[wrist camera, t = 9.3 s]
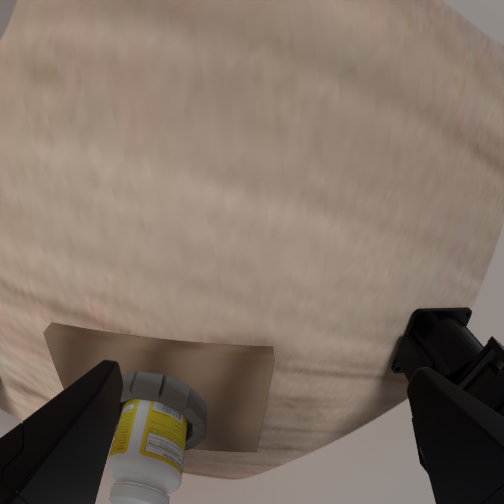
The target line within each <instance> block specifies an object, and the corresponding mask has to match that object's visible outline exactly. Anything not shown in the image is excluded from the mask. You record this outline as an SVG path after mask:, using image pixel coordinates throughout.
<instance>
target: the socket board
mask: <svg viewBox="0 0 504 504" xmlns="http://www.w3.org/2000/svg"><path fill="white" fill-rule="evenodd" d="M44 336H45V339H46V342H47V345H48V348H49V351H50V354H51V357H52V360H53V362H54V365H55V368H56V370H57V373H58V376H59V378H60V381H61V383H62V386H63V388H64V390H65V389H66V388H67V387H68V386H70V385H71V384H72V383H74V382H75V381H76V380H78V379H79V378H80V377H82V376H83V375H84V374H85V373H87V372H88V371H89V370H91V369H92V368H93V367H95V366H96V365H97V364H99V363H100V362H101V361H103V360H105V359H107V360H113V361H117V362H118V363H119V366H120V370H121V375H122V379H123V391H122V396H121V401H120V406H119V411H118V417H117V423H116V428H115V433H114V436H113V437H115V434H116V431H117V427H118V424H119V420H120V417H121V413H122V409H123V407H124V403H125V401H128V400H132V399H141V400H147V401H154V402H159V403H162V404H164V405H166V406H168V407H170V408H173V409H175V410H177V411H179V412H180V413H181V414H182V415H183V416H184V417H185V418H186V419H187V420H188V422H187V432H186V441H185V450H188V449H199V450H212V451H230V452H257V447H258V442H259V438H260V433H261V428H262V423H263V418H264V413H265V408H266V403H267V398H268V393H269V388H270V383H271V377H272V372H273V367H274V361H275V359H274V351H273V347H264V346H242V345H225V344H210V343H198V342H186V341H176V340H166V339H157V338H148V337H140V336H132V335H125V334H117V333H110V332H104V331H97V330H91V329H85V328H79V327H73V326H68V325H62V324H57V323H52V322H51V324H50V325H49V326H48V327H47V329H46V330H45V331H44Z"/></svg>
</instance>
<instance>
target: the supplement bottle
mask: <svg viewBox="0 0 504 504" xmlns="http://www.w3.org/2000/svg"><path fill="white" fill-rule="evenodd" d="M187 422H188V420H187V419H186V418H185V417H184V416H183V415H182V414H181V413H180V412H179V411H177V410H175V409H173V408H170V407H168V406H166V405H164V404H162V403H159V402H154V401H147V400H141V399H132V400H128V401H125V403H124V407H123V409H122V413H121V417H120V420H119V424H118V427H117V431H116V434H115V437H114V441H113V444H112V448H111V452H110V455H109V459H108V465H107V466H108V471H109V473H110V474H111V476H112V477H113V478H114V479H115V480H116V481H117V482H115V483H113V486H112V488H111V494H110V502H111V503H112V504H169V496H168V495H167V494H168V493H171V492H173V491H175V490H176V489H178V487H179V486H180V484H181V478H182V469H183V459H184V450H185V441H186V432H187Z"/></svg>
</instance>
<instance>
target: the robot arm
mask: <svg viewBox="0 0 504 504" xmlns="http://www.w3.org/2000/svg"><path fill="white" fill-rule="evenodd" d="M471 314H472V311H471V310H470V309H469V308H468V307H467V308H427V309H417V310H416V311H415V312H414V314H413V316H412V319H411V322H410V324H409V327H408V329H407V332H406V334H405V337H404V339H403V342H402V344H401V346H400V349H399V351H398V353H397V356H396V358H395V360H394V362H393V365H392V367H391V369H392V371H393V372H394V373H403V372H404V374H405V376H406V377H407V379H408V381H409V385H408V388H407V394H408V398H409V402H410V407H411V412H412V416H413V418H412V423H413V429H414V433H415V438H416V443H417V449H418V455H419V460H420V464H421V465H422V466H423V468H424V469H425V470H426V471H427V473H428V475H429V478H430V482H431V486H432V489H433V494H434V497H435V502H436V504H504V346H503V345H501V344H500V343H499V342H498V341H497V340H496V339H495V338H494V337H491V338H490V339H489V341H488V343H487V345H486V346H485V347H483V346H482V344H481V343H480V342H479V341H478V340H477V338H476V337H475V336H474V335H473V334H472V333H471V332H470V330H469V329H468V328H467V327H466V326H467V324H468V321H469V319H470V317H471ZM419 315H420V316H419ZM122 391H123V379H122V375H121V370H120V366H119V363H118V362H117V361H113V360H107V359H105V360H103V361H101V362H100V363H99V364H97V365H96V366H95V367H93V368H92V369H91V370H89V371H88V372H87V373H85V374H84V375H83V376H82V377H80V378H79V379H78V380H76V381H75V382H74V383H72V384H71V385H70V386H68V387H67V388H66V389H65V390H63V391H62V392H61V393H59V394H58V395H57V396H55V397H54V398H53V399H51V400H50V401H49V402H48V403H46V404H45V405H44V406H42V407H41V408H40V409H38V410H37V411H36V412H35V413H33V414H32V415H31V416H29V417H28V418H27V419H25V420H24V421H23V424H22V423H20V424H19V425H18V426H16V427H15V428H14V429H12V430H11V431H9V432H8V433H7V434H5V435H4V436H3V437H1V438H0V504H95V501H96V497H97V494H98V490H99V486H100V482H101V478H102V475H103V471H104V467H105V464H106V460H107V457H108V453H109V450H110V447H111V443H112V440H113V436H114V433H115V428H116V423H117V417H118V411H119V406H120V401H121V396H122Z"/></svg>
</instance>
